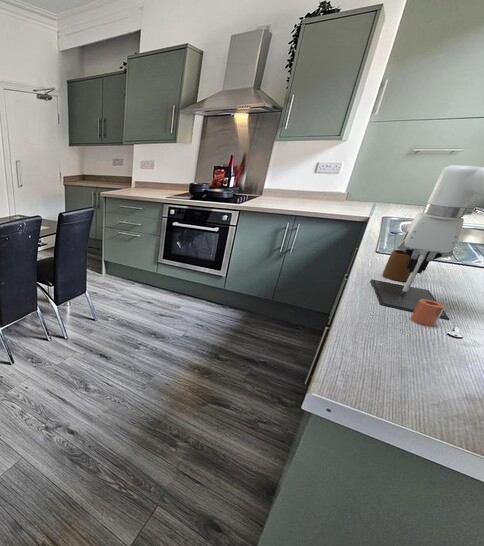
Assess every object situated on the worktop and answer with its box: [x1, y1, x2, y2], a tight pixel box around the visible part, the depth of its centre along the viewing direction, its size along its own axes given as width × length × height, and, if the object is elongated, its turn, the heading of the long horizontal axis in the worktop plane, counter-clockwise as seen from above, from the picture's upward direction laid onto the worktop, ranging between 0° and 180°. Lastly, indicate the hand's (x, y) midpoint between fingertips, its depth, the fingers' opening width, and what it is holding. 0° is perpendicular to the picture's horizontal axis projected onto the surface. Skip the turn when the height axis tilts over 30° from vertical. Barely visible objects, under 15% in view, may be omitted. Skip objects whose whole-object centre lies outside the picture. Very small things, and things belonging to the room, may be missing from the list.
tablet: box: [370, 278, 451, 321], centre depth 96 cm, size 14×22×1 cm, turn 144°
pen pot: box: [409, 299, 446, 327], centre depth 82 cm, size 5×5×6 cm
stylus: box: [402, 255, 425, 294], centre depth 94 cm, size 1×1×13 cm
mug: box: [382, 249, 421, 283], centre depth 111 cm, size 12×8×9 cm, turn 141°
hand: (413, 271), depth 95 cm, fingers closed on stylus, 1 cm apart
